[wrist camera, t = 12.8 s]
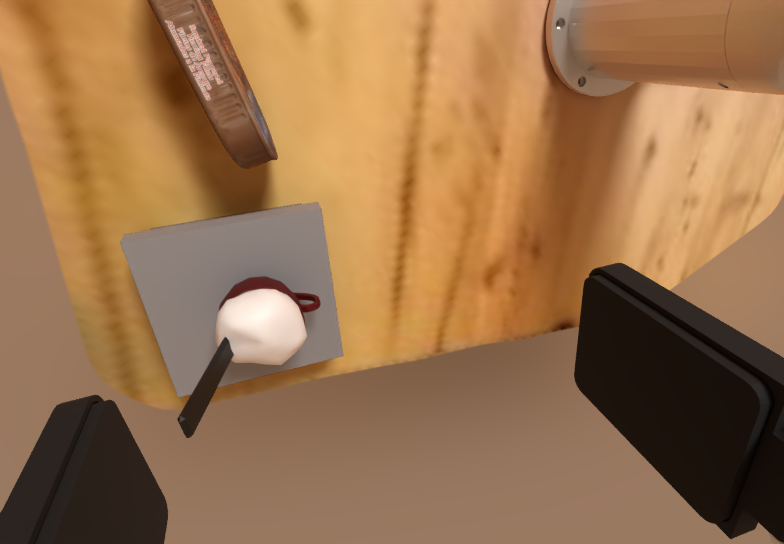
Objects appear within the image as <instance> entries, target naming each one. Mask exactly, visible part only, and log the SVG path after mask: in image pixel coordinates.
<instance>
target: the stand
mask: <svg viewBox="0 0 784 544" xmlns="http://www.w3.org/2000/svg"><path fill="white" fill-rule="evenodd" d="M120 244H121V246H122V249H123V252H124V254H125V257H126V260H127V262H128V265H129V268H130V270H131V273H132V276H133V278H134V281H135V284H136V286H137V289H138V292H139V294H140V297H141V300H142V302H143V305H144V308H145V310H146V313H147V316H148V318H149V321H150V324H151V326H152V329H153V332H154V334H155V337H156V340H157V342H158V345H159V348H160V350H161V353H162V355H163V358H164V361H165V363H166V366H167V369H168V371H169V374H170V377H171V379H172V382H173V385H174V387H175V390H176V393H177V395H178V397H182V396H186V395H190V394H192V393H193V391H194V389H195V387H196V386H197V384H198V382H199V380H200V379H201V377H202V375H203V373H204V372H205V370H206V368H207V366H208V365H209V363H210V361H211V359H212V358H213V356H214V354H215V352H216V351H217V349H218V346H217V344H216V339H215V327H216V321H217V316H218V312H219V306H220V304H221V302H222V300H223V299H224V298H225V296H226V295H227V294H228V293H229V291H230V290H231V289H232V287H233V286H234V285H235V284H237V283H239V282H241V281H243V280H245V279H247V278H250V277H263V276H266V277H269V278H272V279H275V280H278V281H281V282H282V283H283V284H284V285H286V286H287V287H288V288H289V289H290V290H291V291H292V292H295V293H309V294H314V295H316V296H318V297H319V299H320V303H321V305H320V307H319V308H318V309H317V310H315V311H311V312H305V313H304V312H303V314H304V318H305V323H304V325H305V329H306V334H307V337H306V339H305V341H304V343H303V345H302V347H301V348H300V349H299V350H298V351H297V352H295V353H294V354H293V355H292V356H291V357H290V358H289V359H288V360H287V361H285V362H284V363H283V364H282V365H267V364H258V363H235V362H233V361H232V360H231V361H230V363H229V365H228V367H227V369H226V371H225V373H224V375H223V377H222V379H221V381H220V383H219V385H218V387H222V386H226V385H230V384H234V383H238V382H242V381H246V380H250V379H254V378H258V377H262V376H266V375H270V374H274V373H278V372H282V371H286V370H290V369H294V368H298V367H302V366H306V365H310V364H314V363H318V362H322V361H326V360H330V359H334V358H338V357H342V356H343V349H342V343H341V336H340V329H339V323H338V316H337V309H336V303H335V296H334V289H333V283H332V276H331V270H330V263H329V256H328V250H327V243H326V236H325V230H324V223H323V216H322V210H321V207H320V205H319V203H318V202H315V203H309V204H303V205H302V204H295V205H289V206H283V207H277V208H271V209H266V210H260V211H254V212H248V213H242V214H236V215H230V216H224V217H218V218H212V219H206V220H200V221H194V222H188V223H182V224H176V225H170V226H164V227H158V228H152V229H150V230H148V231H142V232H136V233H130V234H125V235H124V236H123V238H122V240H121V242H120ZM299 302H300V304H303V305H308V304H311V303H314V302H313V301H308V300H299ZM218 387H217V388H218Z"/></svg>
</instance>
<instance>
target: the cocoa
mask: <svg viewBox="0 0 784 544" xmlns="http://www.w3.org/2000/svg"><path fill="white" fill-rule="evenodd" d="M299 300H308V301H313V302H314V303H311V304H308V305H303V304H300V302H299ZM320 305H321V303H320V299H319V297H318V296H316V295H314V294H309V293H295V292H292V291H291V290H290V289H289V288H288V287H287V286H286V285H284V284H283V283H282V282H281V281H278V280H275V279H272V278H269V277H266V276H263V277H250V278H247V279H245V280H243V281H241V282H239V283H237V284H235V285H234V286H233V287H232V289H231V290H230V291H229V293H228V294H227V295H226V296H225V298H224V299H223V300H222V302H221V304H220V306H219V312H218V316H217V321H216V327H215V339H216V344H217V346H218V349H217V351H216V352H215V354H214V356H213V358H212V359H211V361H210V363H209V365H208V366H207V368H206V370H205V372H204V373H203V375H202V377H201V379H200V380H199V382H198V384H197V386H196V387H195V389H194V391H193V393H192V394H191V396H190V398H189V400H188V401H187V403H186V405H185V407H184V408H183V410H182V412H181V414H180V415H179V417H178V419H177V420H178V422H179V424H180V426H181V428H182V430H183V432H184V434H185V436H186V437H187V438H190V437H191V436H192V435H193V434H194V431H195V430H196V428H197V426H198V423H199V422H200V420H201V418H202V416H203V414H204V412H205V410H206V408H207V406H208V404H209V402H210V400H211V398H212V397H213V395H214V393H215V391H216V389H217V387H218V385H219V383H220V381H221V379H222V377H223V375H224V373H225V371H226V369H227V367H228V365H229V363H230V361H231V360H232V361H233V362H235V363H258V364H267V365H282V364H283V363H284V362H285V361H287V360H288V359H289V358H290V357H291V356H292V355H293V354H294V353H295V352H297V351H298V350H299V349H300V348H301V347H302V345H303V343H304V341H305V339H306V337H307V334H306V329H305V325H304V323H305V318H304V314H303V312H304V313H305V312H311V311H315V310H317V309H318V308H319V307H320Z"/></svg>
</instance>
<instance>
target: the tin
mask: <svg viewBox="0 0 784 544" xmlns="http://www.w3.org/2000/svg"><path fill="white" fill-rule="evenodd" d="M148 2H149V4H150V6H151V7H152V9H153V11H154V13H155V15H156V17H157V19H158V21H159V23H160V25H161V27H162V29H163V31H164V33H165V35H166V37H167V39H168V41H169V43H170V45H171V47H172V49H173V51H174V53H175V55H176V57H177V59H178V61H179V63H180V65H181V67H182V68H183V70H184V72H185V74H186V76H187V78H188V80H189V82H190V84H191V86H192V88H193V90H194V91H195V93H196V95H197V97H198V99H199V101H200V103H201V105H202V107H203V109H204V111H205V112H206V114H207V116H208V118H209V120H210V122H211V124H212V126H213V128H214V129H215V131H216V133H217V135H218V136H219V138H220V140H221V142H222V143H223V145H224V147H225V148H226V150H227V151H228V153H229V154H230V156H231V157H232V158H233V160H234V161H235V162H236V163H237V164H238V165H239V166H240V167H241V168H245V169H248V168H252V167H255V166H257V165H260V164H262V163H265V162H268V161H270V160H277V159H278V156H277V152H276V149H275V146H274V143H273V140H272V137H271V134H270V131H269V129H268V126H267V123H266V121H265V119H264V116H263V114H262V112H261V109H260V107H259V105H258V103H257V100H256V98H255V96H254V93H253V91H252V89H251V87H250V84H249V82H248V80H247V78H246V75H245V73H244V71H243V69H242V67H241V65H240V62H239V60H238V58H237V56H236V53H235V51H234V49H233V47H232V45H231V42H230V40H229V38H228V35H227V33H226V31H225V29H224V27H223V24H222V22H221V20H220V18H219V15H218V13H217V11H216V9H215V6H214V4H213V2H212V0H148Z"/></svg>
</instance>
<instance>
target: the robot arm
mask: <svg viewBox="0 0 784 544" xmlns="http://www.w3.org/2000/svg"><path fill="white" fill-rule="evenodd" d="M546 45H547V50H548V55H549V59H550V62H551V64H552V67H553V69H554V71H555V73H556V74H557V76H558V77H559V79H560V80H561V81H562V82H563V83H564V84H565V85H566V86H567V87H568V88H570V89H571V90H573V91H575V92H577V93H579V94H584V95H588V96H597V97H601V96H609V95H612V94H615V93H618V92H621V91H622V90H624V89H626V88H627V87H629V86H631V85H632V84H633V83H635V82H644V83H655V84H666V85H677V86H687V87H698V88H709V89H720V90H730V91H741V92H752V93H764V94H776V95H784V0H551V1H550V5H549V9H548V13H547V22H546ZM574 377H575V382H576V384H577V386H578V388H579V390H580V391H581V392H582V393H583V394H584V395H585V396H586V397H587V398H588V399H589V400H590V401H591V403H592V404H593V405H594V406H595V407H596V408H597V409H598V410H599V411H600V412H601V413H602V414H603V415H604V416H605V417H606V418H607V419H608V420H609V421H610V422H611V423H612V424H613V425H614V426H615V428H617V430H618V431H619V432H620V433H621V434H622V435H623V436H624V437H625V438H626V439H627V440H628V441H629V442H630V443H631V444H632V445H633V446H634V447H635V448H636V449H637V450H638V452H639V453H640V454H642V456H643V457H645V459H646V460H647V461H648V462H649V463H650V464H651V465H652V466H653V467H654V468H655V469H656V470H657V471H658V472H659V473H660V474H661V475H662V476H663V478H664V479H665V480H666V481H667V482H668V483H669V484H670V485H671V486H672V487H673V488H674V489H675V490H676V491H677V492H678V493H679V494H680V495H681V496H682V497H683V498H684V499H685V500H686V501H687V503H688V504H689V505H690V506H691V507H692V508H693V509H694V510H695V511H696V512H697V513H698V514H699V515H700V516H701V517H702V518H704V519H705V520H706V521H708V522H710V523H715V524H716V525H717V526H718V527H719V528H720V529H721V530H722V531H723V532H724V533H725V534H726V535H727V536H728V537H729V538H730V539H732V538H734V537H737V536H739V535H742V534H744V533H747V532H749V531H752V530H754V529H755V528H756V526H757V524H758V522H759V523H760V524H761V525H762V526H763V527H764V528H765V529H766V530H767V531H768V532H769V533H770V537H771V541H772V544H784V358H783V357H781V356H780V355H778V354H776V353H775V352H773V351H771V350H770V349H768V348H766V347H764V346H763V345H761V344H759V343H758V342H756V341H754V340H752V339H751V338H749V337H747V336H746V335H744V334H742V333H741V332H739V331H737V330H736V329H734V328H732V327H730V326H729V325H727V324H725V323H724V322H722V321H720V320H719V319H717V318H715V317H713V316H712V315H710V314H708V313H706V312H705V311H703V310H702V309H700V308H698V307H696V306H695V305H693V304H691V303H690V302H688V301H686V300H685V299H683V298H681V297H679V296H678V295H676V294H674V293H673V292H671V291H669V290H668V289H666V288H664V287H663V286H661V285H659V284H657V283H656V282H654V281H652V280H651V279H649V278H647V277H646V276H644V275H642V274H640V273H639V272H637V271H635V270H634V269H632V268H630V267H629V266H627V265H625V264H622V263H615V264H611V265H607V266H603V267H599V268H595V269H594V270H592V271H591V273H590V275H589V277H588V278H587V279H586V280H585V282H584V287H583V296H582V306H581V315H580V325H579V335H578V344H577V353H576V363H575V372H574ZM167 520H168V509H167V503H166V500H165V497H164V495H163V493H162V491H161V489H160V488H159V486H158V484H157V482H156V480H155V478H154V476H153V474H152V472H151V470H150V469H149V466H148V465H147V463H146V461H145V459H144V457H143V455H142V453H141V451H140V449H139V447H138V446H137V443H136V442H135V440H134V438H133V436H132V434H131V432H130V430H129V428H128V426H127V424H126V422H125V421H124V419H123V417H122V415H121V413H120V411H119V409H118V407H117V405H116V404H115V402H114V401H112V400H107V401H103V399H102V398H101V397H100V396H98V395H92V396H89V397H84V398H80V399H76V400H73V401H69V402H65V403H61V404H59V405H57V406H56V407H55V408H54V410H53V412H52V414H51V416H50V418H49V419H48V421H47V423H46V426H45V427H44V429H43V431H42V433H41V435H40V437H39V439H38V441H37V443H36V445H35V447H34V449H33V451H32V453H31V455H30V457H29V459H28V461H27V463H26V465H25V467H24V468H23V470H22V472H21V474H20V476H19V478H18V480H17V482H16V484H15V486H14V488H13V490H12V492H11V494H10V496H9V498H8V500H7V502H6V504H5V506H4V508H3V510H2V511H1V513H0V544H164V539H165V533H166V527H167Z"/></svg>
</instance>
